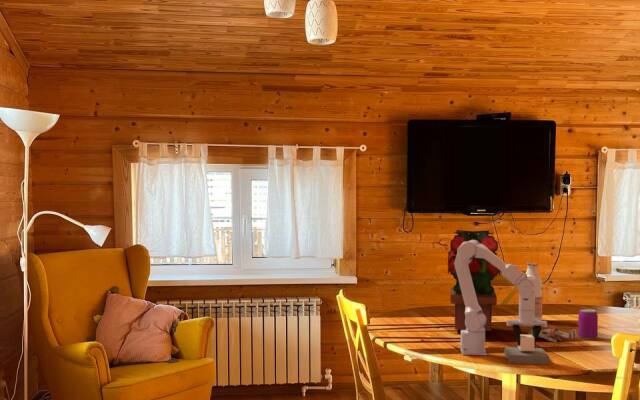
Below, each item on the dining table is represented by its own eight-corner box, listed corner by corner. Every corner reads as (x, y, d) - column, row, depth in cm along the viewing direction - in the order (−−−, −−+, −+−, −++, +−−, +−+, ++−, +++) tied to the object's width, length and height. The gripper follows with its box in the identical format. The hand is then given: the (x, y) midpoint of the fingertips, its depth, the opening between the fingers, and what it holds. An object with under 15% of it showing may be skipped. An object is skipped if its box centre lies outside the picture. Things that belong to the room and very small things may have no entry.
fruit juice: (518, 320, 311) (518, 263, 311) (527, 317, 318) (528, 261, 317) (536, 323, 304) (536, 264, 304) (545, 320, 311) (546, 263, 310)
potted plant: (499, 337, 276) (500, 233, 275) (447, 335, 281) (448, 232, 279) (496, 326, 298) (497, 229, 297) (447, 324, 302) (448, 229, 301)
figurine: (570, 330, 262) (525, 327, 276) (572, 344, 262) (526, 341, 276) (577, 328, 266) (531, 325, 280) (578, 341, 266) (532, 339, 280)
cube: (520, 350, 240) (520, 337, 240) (518, 347, 245) (518, 334, 245) (534, 351, 239) (534, 337, 239) (531, 347, 244) (531, 334, 244)
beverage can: (586, 340, 271) (586, 312, 271) (574, 336, 279) (574, 308, 279) (601, 339, 274) (601, 311, 273) (589, 335, 281) (589, 308, 281)
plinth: (509, 363, 237) (509, 355, 237) (504, 354, 249) (504, 346, 248) (549, 364, 235) (549, 356, 235) (542, 355, 247) (542, 348, 247)
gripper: (544, 307, 244) (544, 343, 245) (505, 306, 246) (505, 341, 246) (548, 311, 237) (548, 347, 238) (508, 310, 239) (508, 346, 239)
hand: (526, 345), depth 242 cm, fingers closed on cube, 5 cm apart
